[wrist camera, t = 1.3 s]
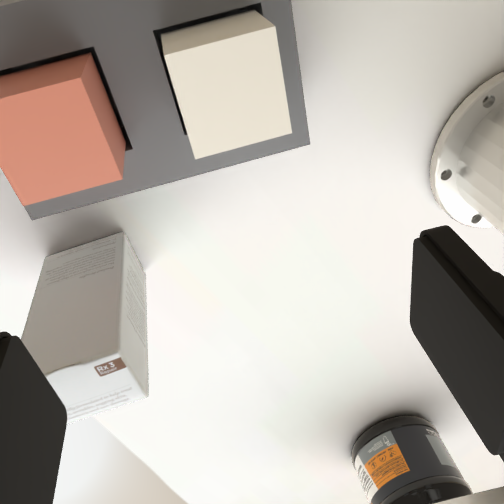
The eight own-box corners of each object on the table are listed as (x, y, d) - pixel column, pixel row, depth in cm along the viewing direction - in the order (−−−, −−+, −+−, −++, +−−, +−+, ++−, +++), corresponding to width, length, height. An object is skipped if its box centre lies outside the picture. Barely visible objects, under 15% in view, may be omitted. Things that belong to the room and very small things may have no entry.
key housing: (258, -69, 24) (281, -67, 20) (288, 115, 30) (310, 144, 26) (-43, 9, 24) (-81, 26, 20) (47, 180, 30) (32, 220, 26)
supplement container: (330, 450, 54) (370, 564, 45) (400, 399, 51) (459, 509, 42) (381, 473, 60) (427, 578, 50) (448, 427, 57) (511, 531, 47)
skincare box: (73, 297, 35) (45, 439, 26) (42, 251, 33) (-2, 391, 23) (150, 271, 35) (152, 404, 26) (125, 224, 33) (118, 352, 23)
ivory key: (254, 9, 22) (275, 25, 19) (270, 102, 25) (292, 133, 21) (160, 33, 22) (163, 55, 19) (187, 125, 25) (195, 159, 21)
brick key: (90, 52, 22) (80, 77, 18) (125, 141, 25) (122, 179, 21) (-5, 77, 22) (-35, 107, 18) (40, 164, 25) (23, 206, 21)
